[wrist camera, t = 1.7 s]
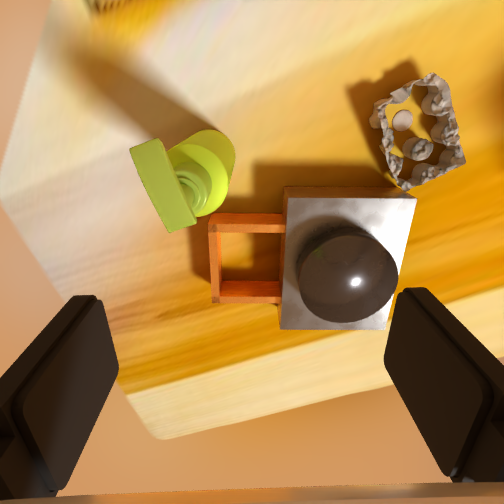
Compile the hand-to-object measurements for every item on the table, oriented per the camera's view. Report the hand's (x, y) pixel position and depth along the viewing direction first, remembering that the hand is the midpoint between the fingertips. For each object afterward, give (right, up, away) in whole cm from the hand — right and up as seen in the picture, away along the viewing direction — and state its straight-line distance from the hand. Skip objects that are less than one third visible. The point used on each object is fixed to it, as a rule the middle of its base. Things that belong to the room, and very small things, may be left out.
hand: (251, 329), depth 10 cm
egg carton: (+18, +16, +26) cm, 36 cm away
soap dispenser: (-5, +14, +27) cm, 31 cm away
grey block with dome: (+6, +2, +32) cm, 33 cm away
